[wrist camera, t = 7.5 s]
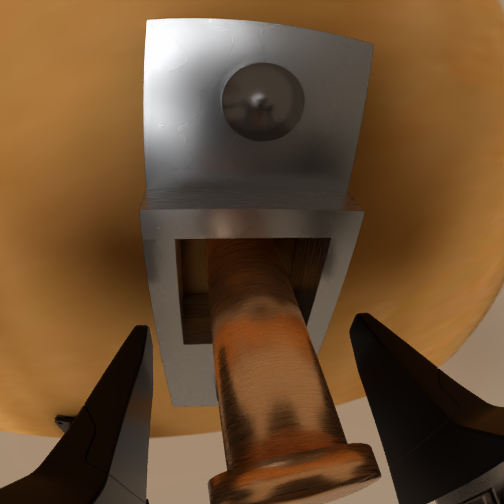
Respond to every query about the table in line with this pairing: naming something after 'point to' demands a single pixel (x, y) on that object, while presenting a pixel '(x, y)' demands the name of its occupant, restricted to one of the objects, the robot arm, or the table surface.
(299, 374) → the pin
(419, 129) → the table surface
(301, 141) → the slotted metal plate
